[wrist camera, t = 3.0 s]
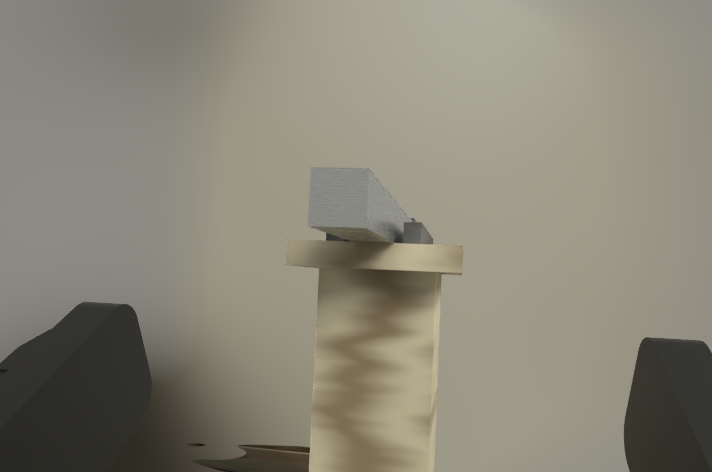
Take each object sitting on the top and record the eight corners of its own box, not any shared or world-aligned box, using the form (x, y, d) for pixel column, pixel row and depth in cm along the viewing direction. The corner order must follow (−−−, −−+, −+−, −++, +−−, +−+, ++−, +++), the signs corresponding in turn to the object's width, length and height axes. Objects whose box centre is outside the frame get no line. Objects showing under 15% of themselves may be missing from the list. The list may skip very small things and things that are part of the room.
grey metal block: (414, 253, 48) (416, 221, 48) (368, 227, 24) (371, 163, 24) (382, 252, 48) (383, 219, 48) (305, 226, 24) (308, 162, 25)
